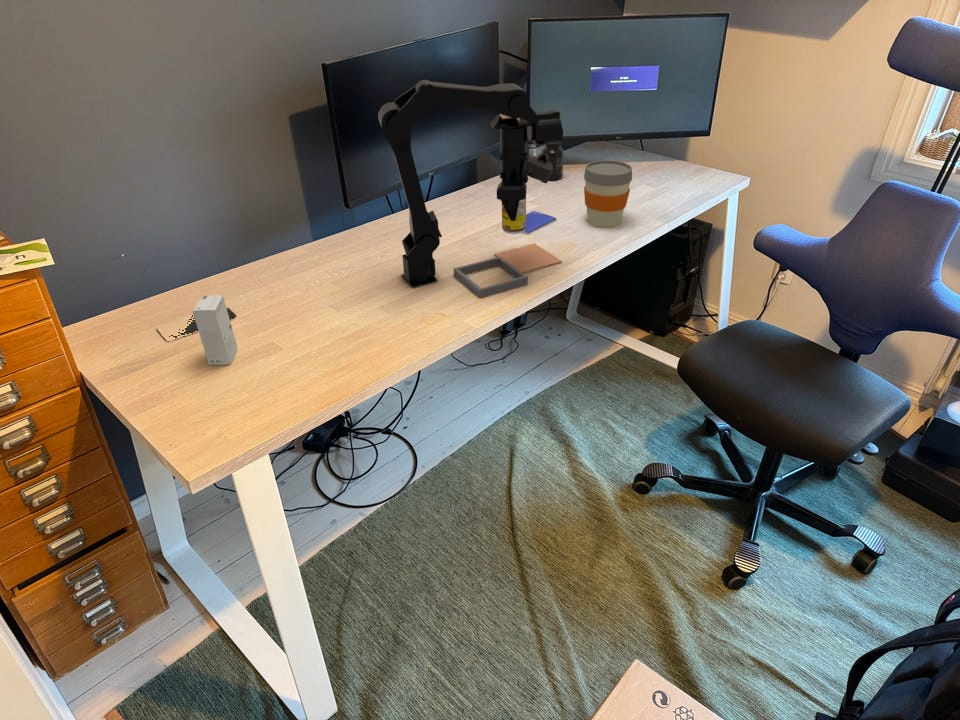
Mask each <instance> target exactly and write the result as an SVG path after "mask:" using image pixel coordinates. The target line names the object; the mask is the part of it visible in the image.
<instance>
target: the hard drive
mask: <svg viewBox="0 0 960 720" xmlns="http://www.w3.org/2000/svg"><path fill="white" fill-rule="evenodd" d="M555 222H557V217H555V216H552V215H549V214H545V213H542V212H539V211H536V210H532V211H531V212H528V213H526V229H525V231H523V232H522V233H521V234H524V235H527V236H529V235H531V234H533V233H535V232H537V231H539V230H541V229H543V228H545V227H548V226H549V225H551V224H553V223H555Z"/></svg>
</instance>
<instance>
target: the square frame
mask: <svg viewBox="0 0 960 720" xmlns="http://www.w3.org/2000/svg"><path fill="white" fill-rule="evenodd" d="M498 265H499V266H500V267H499V266H498ZM495 266H496V267H499V268H501V269H502V270H503V271H505V272H506V273H507V274H508V275H510V276H511V277H513V278H512V279H509V280H505V281H502V282H498V283H494V284H490V285H487V286H484V287H483V286H482V287H481V286H479V285H478V284H477V283H476V282H475V281H473V280H472V279H471V278H470V277H469V276H467V275H469V273H470V274H473V273H472V272H474V273H477V272H481V271H484V270H488V268H489V269H491V268H495ZM452 269H453V277H454V278H456V280H458V281H459V282H460V283H461V284H462V283H463V286H465V288H467V289H468V290H470V291H471V292H472V293H473V294H474V295H475V296H476V297H478V298H479V299H481V298H486V297H490V296H493V295H496V294H500V293H502V292H507V291H511V290H514V289H517V288H520V287H523V286H528V285H529V281H528V279H529V276H527V275H526V273H522V272H521V271H519V270H518V269H516V268H515V267H514V266H512V265H511V264H510V263H508V262H507V261H505V260H504V259H503V258H501V257H500V256H499V257H495V256H494V257H492V258H488V259H484V260H480V261H476V262H473V263H469V264H466V265H461V266H458V267H454V268H452ZM480 270H481V271H480ZM476 271H477V272H476ZM465 274H466V275H465Z"/></svg>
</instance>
